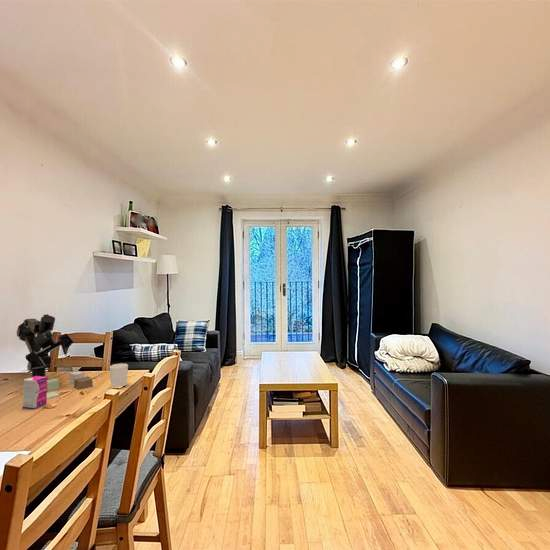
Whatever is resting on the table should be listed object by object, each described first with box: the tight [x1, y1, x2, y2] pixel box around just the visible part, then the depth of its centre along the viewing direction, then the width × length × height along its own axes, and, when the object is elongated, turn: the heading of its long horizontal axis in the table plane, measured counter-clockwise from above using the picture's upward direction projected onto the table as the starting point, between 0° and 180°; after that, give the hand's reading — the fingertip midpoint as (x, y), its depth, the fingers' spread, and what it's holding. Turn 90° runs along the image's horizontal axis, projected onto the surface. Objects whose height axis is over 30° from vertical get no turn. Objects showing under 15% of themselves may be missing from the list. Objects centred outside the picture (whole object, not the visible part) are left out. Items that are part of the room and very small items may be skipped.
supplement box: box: [22, 376, 48, 410], centre depth 134 cm, size 6×6×12 cm
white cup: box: [109, 363, 129, 387], centre depth 158 cm, size 8×8×10 cm
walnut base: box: [73, 375, 94, 390], centre depth 158 cm, size 6×6×4 cm
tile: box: [47, 391, 61, 400], centre depth 145 cm, size 7×7×1 cm
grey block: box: [69, 371, 85, 384], centre depth 165 cm, size 4×4×4 cm
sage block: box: [47, 377, 60, 392], centre depth 154 cm, size 4×4×4 cm
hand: (55, 360), depth 151 cm, fingers open, 9 cm apart
